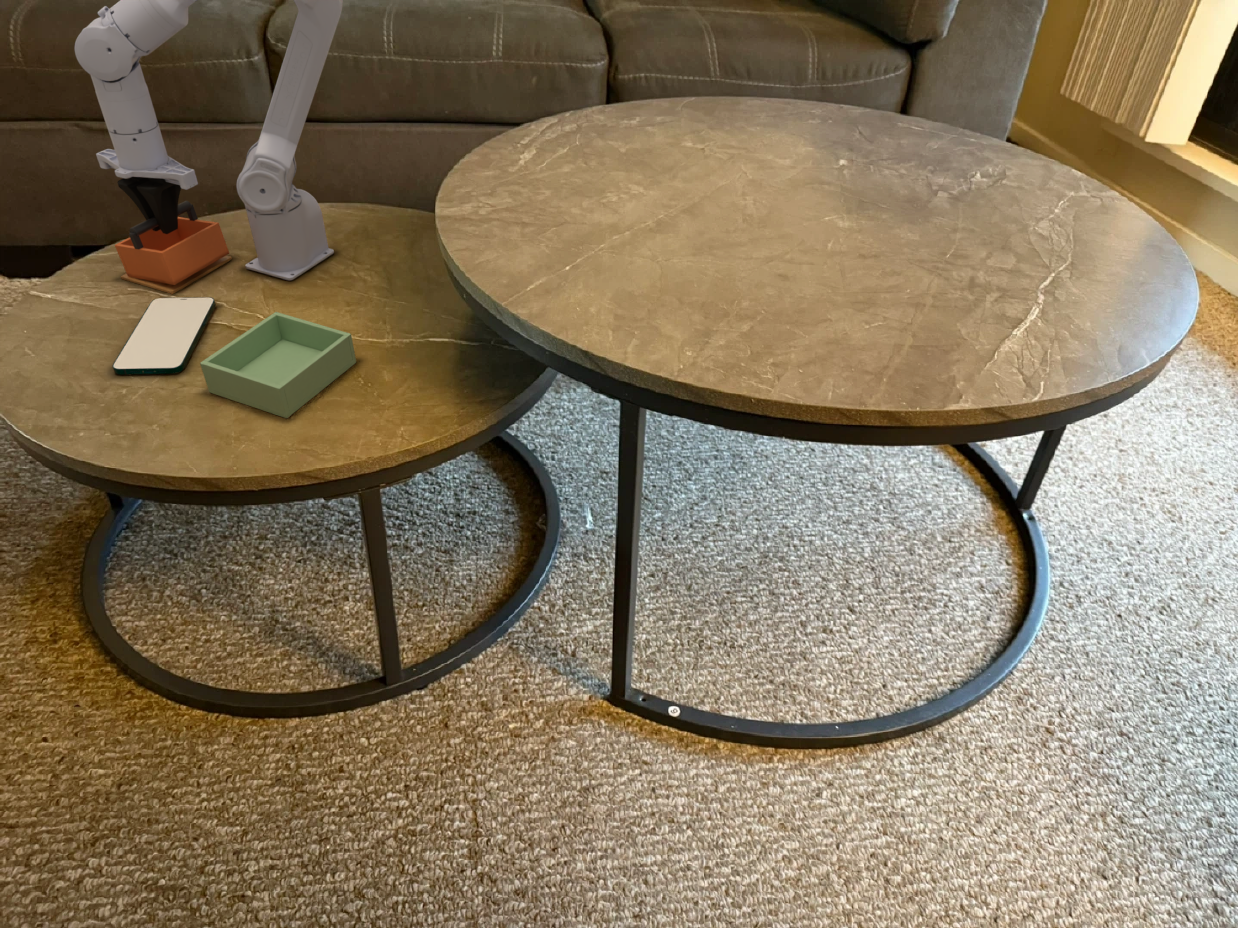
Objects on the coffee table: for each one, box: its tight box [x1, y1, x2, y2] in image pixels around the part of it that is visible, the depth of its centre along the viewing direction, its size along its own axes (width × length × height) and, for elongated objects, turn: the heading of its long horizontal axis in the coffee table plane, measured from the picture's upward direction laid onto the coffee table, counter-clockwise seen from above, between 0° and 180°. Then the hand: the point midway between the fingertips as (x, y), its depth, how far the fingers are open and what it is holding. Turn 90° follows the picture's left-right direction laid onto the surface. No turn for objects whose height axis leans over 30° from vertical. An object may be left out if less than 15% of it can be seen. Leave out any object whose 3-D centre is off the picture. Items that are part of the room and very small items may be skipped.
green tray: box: [199, 311, 357, 419], centre depth 104 cm, size 12×11×4 cm
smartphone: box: [112, 296, 217, 375], centre depth 111 cm, size 8×1×16 cm
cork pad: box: [120, 255, 233, 295], centre depth 124 cm, size 11×9×1 cm
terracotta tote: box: [114, 200, 230, 285], centre depth 121 cm, size 10×9×7 cm
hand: (165, 229), depth 120 cm, fingers closed on terracotta tote
